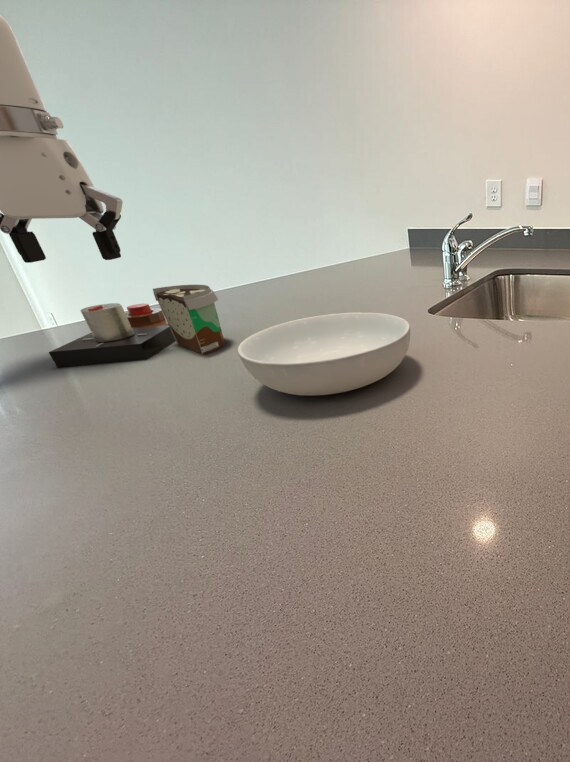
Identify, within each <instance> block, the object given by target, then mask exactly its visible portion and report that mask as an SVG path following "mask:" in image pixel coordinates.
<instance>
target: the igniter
mask: <svg viewBox="0 0 570 762" xmlns="http://www.w3.org/2000/svg"><path fill="white" fill-rule="evenodd" d="M151 311H152V312H151V313H148V314H143V315H136V316H130V314H129V312H128V311H127V312H125V314H126V316H127V318H128V320H129V323H130V325H131V327H132V328H143V327H155V326H167V325H168V323H167V320H166V318H165V316H164V314H163V312H162V309H161V308H156V307H155V308H154V307H153V308H151Z"/></svg>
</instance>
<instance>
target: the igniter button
mask: <svg viewBox="0 0 570 762" xmlns="http://www.w3.org/2000/svg"><path fill="white" fill-rule="evenodd" d="M126 309H127V312H129V314H130V316H136V315H143V314H148V313H151V312H152V311H151V309H152V308H151V306H150V304H149V303H136V304H131V305H128V306H126Z"/></svg>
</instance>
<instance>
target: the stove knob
mask: <svg viewBox="0 0 570 762" xmlns="http://www.w3.org/2000/svg"><path fill="white" fill-rule="evenodd" d="M80 313H81V315H82V317H83V319H84V321H85V323H86V325H87V327H88V329H89V331H90V333H92V335H93V337H94V339H95V341H97V342H109V341H116V340H120V339H124V338H128V337H130V336H132V335H134V331H133V329H132V327H131V325H130V323H129V320H128V318H127V316H126V314H125V313H126V312H125V309H124V307H123V305H122V303H118V302H113V303H112V302H111V303H101V304H95V305H91V306H86V307H83V308H81V309H80Z"/></svg>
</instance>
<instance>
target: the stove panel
mask: <svg viewBox="0 0 570 762" xmlns="http://www.w3.org/2000/svg"><path fill="white" fill-rule="evenodd" d="M132 329H133V331H134V335H132V336H130V337H128V338H124V339H120V340H116V341H109V342H97V341H95V339H94V337H93V335H92V333H91V332H90V333H87V334H85V335H83V336H80V337H79V338H76V339H74V340H72V341H70V342H67V343H65V344H63V345H61V346H59V347H57V348H55V349H53V350H50V351H48V354H49V356H50V357H51V359H52V361H53V363H54V365H55V366H56V368H57V369H64V368H76V367H86V366H87V367H88V366H96V365H105V364H107V365H108V364H116V363H117V364H118V363H125V362H126V363H127V362H135V361H136V362H138V361H146V360H149V359H151V358H152V357H154V356H156V355H157V354H159V353H160V352H161V351H163V350H165V349H166V348H167V347H169V346H171V345H172V344H174V343H176V340H175V338H174V336H173V334H172V332H171V329H170V327H169V325H167V326H155V327H143V328H132Z"/></svg>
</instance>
